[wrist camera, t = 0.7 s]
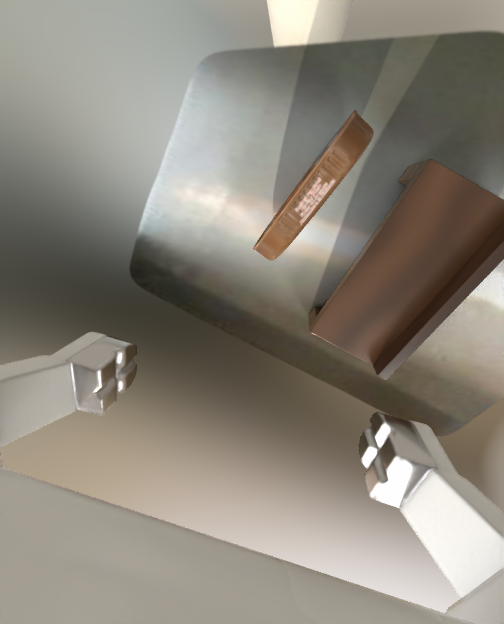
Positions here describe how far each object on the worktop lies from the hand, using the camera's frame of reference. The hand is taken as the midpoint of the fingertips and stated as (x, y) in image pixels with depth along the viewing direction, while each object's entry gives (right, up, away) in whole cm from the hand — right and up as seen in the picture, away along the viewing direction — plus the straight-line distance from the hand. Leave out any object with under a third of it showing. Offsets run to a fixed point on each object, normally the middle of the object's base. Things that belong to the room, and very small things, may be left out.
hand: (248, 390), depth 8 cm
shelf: (+17, +8, +22) cm, 29 cm away
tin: (+6, +16, +21) cm, 27 cm away
